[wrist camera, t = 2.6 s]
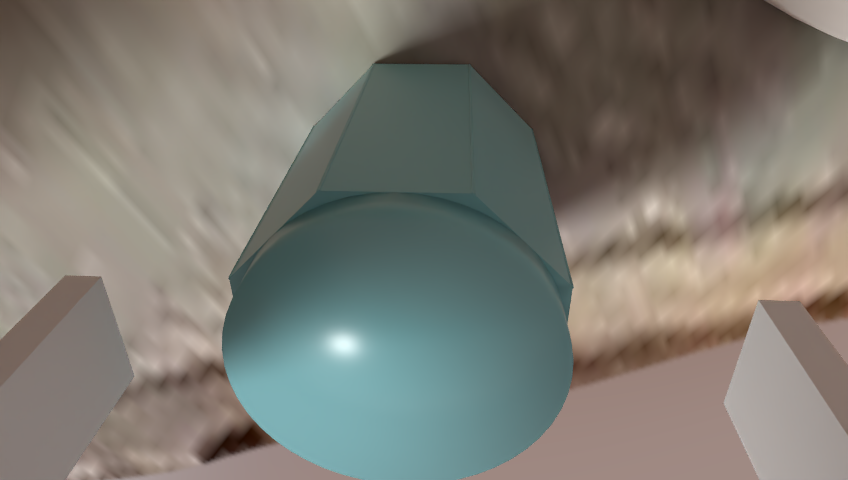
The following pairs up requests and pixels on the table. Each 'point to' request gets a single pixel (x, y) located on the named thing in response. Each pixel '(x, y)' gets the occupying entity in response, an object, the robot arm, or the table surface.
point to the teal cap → (406, 286)
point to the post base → (818, 14)
